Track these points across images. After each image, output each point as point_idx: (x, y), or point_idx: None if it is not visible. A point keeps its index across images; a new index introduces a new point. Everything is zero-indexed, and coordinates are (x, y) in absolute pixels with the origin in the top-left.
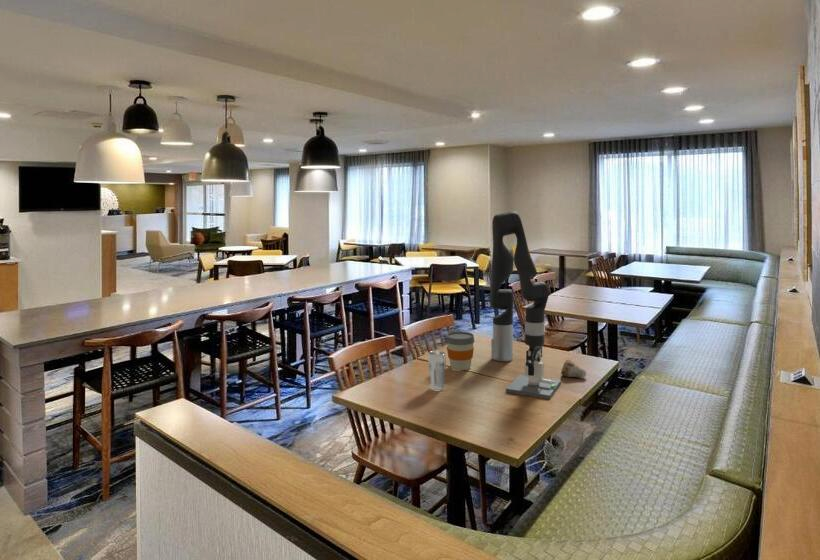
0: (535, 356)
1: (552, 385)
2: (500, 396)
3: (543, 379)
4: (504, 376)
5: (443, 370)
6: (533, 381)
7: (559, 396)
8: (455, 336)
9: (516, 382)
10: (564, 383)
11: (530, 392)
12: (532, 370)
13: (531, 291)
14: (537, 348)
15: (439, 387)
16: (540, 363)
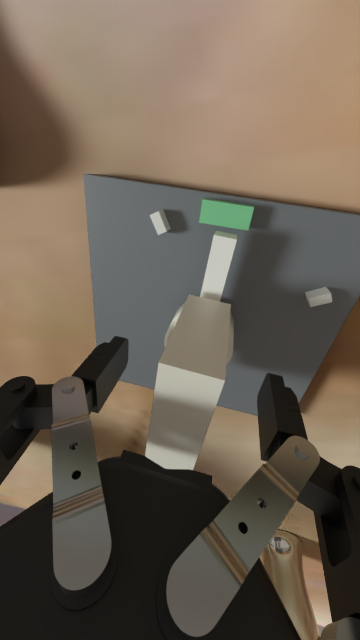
0: (266, 540)
1: (240, 219)
2: (337, 427)
3: (214, 290)
4: (116, 407)
5: (306, 626)
6: (233, 338)
7: (325, 153)
8: None
9: None
10: (77, 149)
11: (336, 335)
12: (291, 412)
13: None
14: (104, 623)
15: (300, 552)
16: (210, 392)
